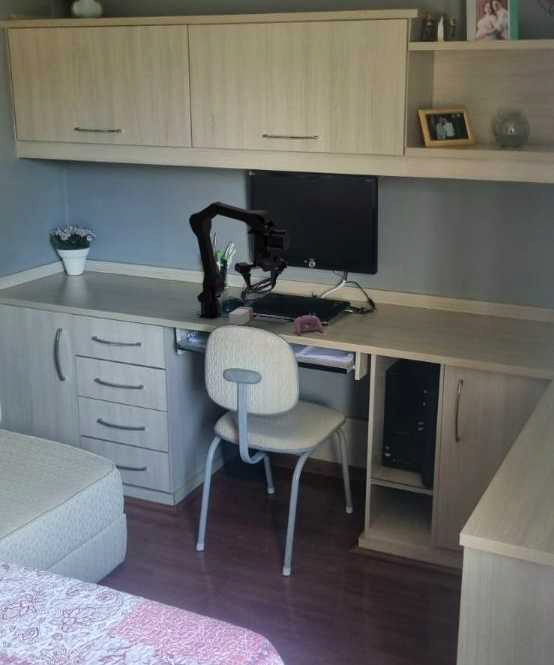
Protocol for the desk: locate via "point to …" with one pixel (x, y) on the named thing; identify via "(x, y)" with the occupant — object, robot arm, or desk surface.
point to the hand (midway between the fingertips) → (261, 288)
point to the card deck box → (240, 316)
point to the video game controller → (307, 320)
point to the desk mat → (270, 319)
